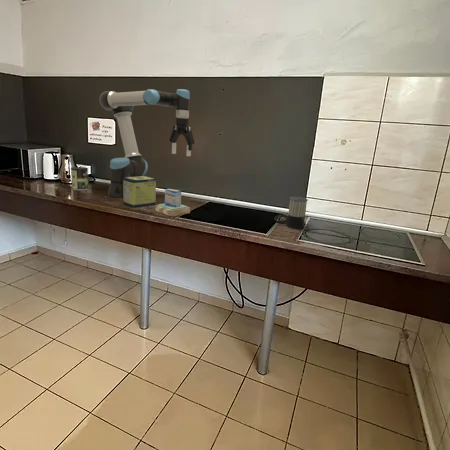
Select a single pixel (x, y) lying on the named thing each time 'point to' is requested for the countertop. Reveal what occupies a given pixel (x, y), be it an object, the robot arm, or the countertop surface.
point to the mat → (172, 207)
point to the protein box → (139, 191)
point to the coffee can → (79, 178)
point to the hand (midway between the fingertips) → (181, 155)
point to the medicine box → (172, 197)
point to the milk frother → (295, 213)
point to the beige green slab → (172, 211)
